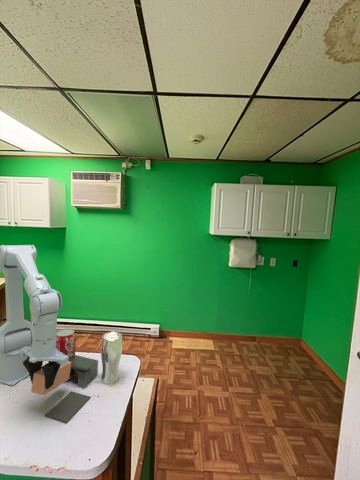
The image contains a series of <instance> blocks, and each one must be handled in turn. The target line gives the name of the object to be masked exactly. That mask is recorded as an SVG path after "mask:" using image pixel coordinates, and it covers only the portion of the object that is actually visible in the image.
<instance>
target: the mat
mask: <svg viewBox="0 0 360 480" xmlns="http://www.w3.org/2000/svg"><path fill="white" fill-rule="evenodd" d="M91 398H92V397H91V395H90V396H89V395H87V394H86V395H85V394H82V393H79V392H75V391H69V392H68V394H66V395H65V396H64V397H63V398H62V399H61V400H59V402H58V403H56V404H55V405H54V406H53V407H52V408H51V409H49V411H47V412H46V414H44V417H46V418H49V419H51V420H55V421H58V422H61V423H64V424H68V423H69V422H70V420H71V419H72V418H74V416H75V415H76V414H77V413H78V412H79V411H80V410H81V409H82V408H83V407H84V406H85V404H87V402H88V401H89V400H90V399H91Z"/></svg>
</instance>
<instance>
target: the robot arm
mask: <svg viewBox="0 0 360 480" xmlns="http://www.w3.org/2000/svg"><path fill="white" fill-rule="evenodd" d="M37 254H38V251H37V248H36V246H35V245H34V244H24V245H23V244H19V245H17V244H16V245H9V244H7V245H4V244H1V245H0V272H3V276H4V287H5V288H4V291H5V311H6V312H5V313H6V315H5V317H6V321H5V323H3V324H2V325H1V326H0V383H2V384H5V385H8V386H14V385H16V384H17V383H19V382H21V381H22V380H23V379H25V378H27V377H29V378H30V382H31V384H32V382H33V376H34V373H35V372H37V371H39V370H41V369H42V370H43V372H44V376H45V388H46V389H49V388H50V387H51V386H52V385H53V384H54V380H55V377H56V374H57V372H58V370H59V368H60V366H64V365H66V364H67V363H68V357H69V356H67V355H64V354H63V353H61V352H60V351H58V350H57V349H56V332H57V331H58V330H57V329H58V327H57V326H58V313H59V312H60V311H61V310H62V308H63V300H62V295H61V293H60V292H59V291H58V290H55V289H53V288H52V286H51V285H50V283H49V281H48V279H47V277H45V276H46V275H44V274H42V273H40V272H39V271H38V270H39V269H38V266H37V264H36V260H37V256H38V255H37ZM23 277H24V279H25V280H24V281H23ZM23 287H24V290H25V292H26V294H27V296H28V298H29V311H30V320H31V321H29V320H27V319H25V313H24V310H25V309H24V291H23ZM44 362H47V363H45V364H44ZM43 364H44V365H43Z"/></svg>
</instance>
